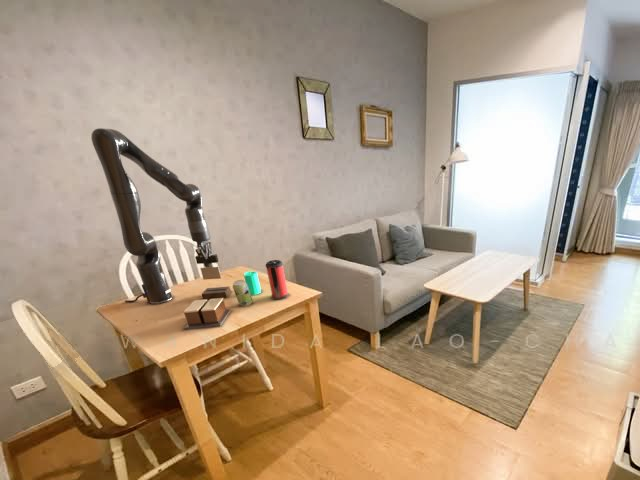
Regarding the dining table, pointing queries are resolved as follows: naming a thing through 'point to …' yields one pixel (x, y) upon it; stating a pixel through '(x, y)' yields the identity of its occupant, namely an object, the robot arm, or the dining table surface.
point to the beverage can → (242, 292)
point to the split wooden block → (206, 313)
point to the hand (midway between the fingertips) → (208, 265)
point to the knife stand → (216, 293)
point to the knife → (209, 268)
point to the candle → (252, 282)
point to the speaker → (277, 279)
